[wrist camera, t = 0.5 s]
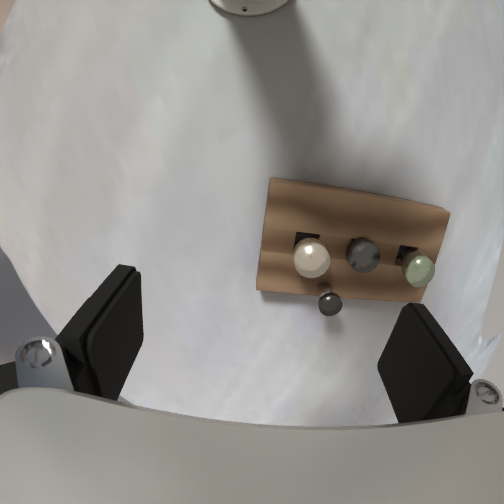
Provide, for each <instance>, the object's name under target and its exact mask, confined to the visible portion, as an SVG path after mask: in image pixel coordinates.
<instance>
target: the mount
mask: <svg viewBox="0 0 504 504" xmlns="http://www.w3.org/2000/svg"><path fill="white" fill-rule="evenodd" d="M449 217H450V212H448V211H446V210H445V209H443V208H441V207H438V206H433V205H429V204H424V203H420V202H415V201H410V200H406V199H401V198H396V197H391V196H386V195H380V194H375V193H369V192H364V191H358V190H352V189H347V188H340V187H334V186H328V185H321V184H315V183H308V182H301V181H293V180H286V179H278V178H270V180H269V188H268V196H267V203H266V211H265V219H264V226H263V234H262V241H261V249H260V256H259V264H258V271H257V278H256V290H262V291H272V292H283V293H294V294H305V295H316V296H320V294H319V291H318V285H319V284H320V283H322V282H328V283H330V285H331V288H332V290H333V293H336V294H338V295H339V297H341V298H355V299H369V300H385V301H401V302H421V300H422V297H423V295H424V292H425V289H426V287H427V284H428V283H427V284H426V285H424V286H422V287H413V286H412V285H411V284H410V283H409V282H408V280H407V279H406V278H405V277H404V275H403V274H402V270H401V267H402V263H401V261H400V258H396V257H397V254H398V251H399V247H400V245H404V246H408V250H411V251H412V252H416V251H419V252H422V253H424V254H425V255H426V256H427V257H428V258H429V259H430V260H431V261H432V262H433V264H434V265H435V262H436V259H437V256H438V253H439V250H440V247H441V244H442V241H443V238H444V234H445V231H446V228H447V224H448V221H449ZM296 232H305V233H313V234H315V238H316V239H318V240H320V241H321V242H322V243H323V244H324V245H325V247H326V249H327V251H328V253H329V256H330V265H329V268H328V269H327V271H326V272H325V273H324V274H323V275H321V276H319V277H316V278H307V277H304V276H302V275H300V274H299V273H298V271H297V270H296V267H295V263H294V259H293V250H294V248H295V246H294V242H295V236H296ZM358 237H366V238H368V239H370V240H371V241H372V242H373V243H374V245H375V246H376V247H377V248H378V250H379V252H380V261H379V263H378V265H377V266H376V268H375V269H373V270H372V271H370V272H368V273H358V272H356V271H355V270H354V269H353V268H352V266H351V265H350V263H349V261H348V259H347V257H346V249H347V246H348V244H349V243H350V242H351V240H352V238H353V239H356V238H358Z"/></svg>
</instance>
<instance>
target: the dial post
mask: <svg viewBox="0 0 504 504" xmlns="http://www.w3.org/2000/svg"><path fill="white" fill-rule="evenodd" d="M318 291H319V294H320V299H319V301H318V306H319V309H320V312H321V313H322V314H323V315H326V316H332V315H335V314H337V313H338V312H339V311H340V310H341V308H342V301H341V299H340V297H339V295H338V294H336V293H333V290H332V288H331V285H330V283H328V282H322V283H320V284H319V285H318Z"/></svg>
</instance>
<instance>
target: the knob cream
mask: <svg viewBox="0 0 504 504" xmlns="http://www.w3.org/2000/svg"><path fill="white" fill-rule="evenodd" d="M293 259H294V263H295V267H296V270H297V271H298V273H299V274H300V275H302V276H304V277H307V278H316V277H319V276H321V275H323V274H324V273H325V272H326V271H327V269H328V268H329V265H330V256H329V253H328V251H327V249H326V247H325V245H324V244H323V243H322V242H321V241H320V240H318V239H316V238H310V237H304V238H302V239H301V240H300V241H299V242H298V243H297V244H296V246H295V248H294V250H293Z"/></svg>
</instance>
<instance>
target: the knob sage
mask: <svg viewBox="0 0 504 504" xmlns="http://www.w3.org/2000/svg"><path fill="white" fill-rule="evenodd" d="M400 261H401V263H402V267H401V270H402V274H403V275H404V277H405V278H406V279H407V280H408V282H409V283H410V284H411V285H412V286H413V287H422V286H424V285H426V284H427V283H429V282H430V280H431V279H432V277H433V275H434V272H435V267H434V264H433V262H432V261H431V260H430V259H429V258H428V257H427V256H426V255H425V254H424V253H422V252H419V251H416V252H412V251H411V250H405V251H404V252H403V253H402V254H401V256H400Z"/></svg>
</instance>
